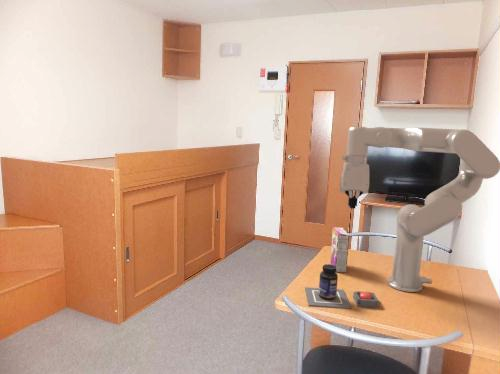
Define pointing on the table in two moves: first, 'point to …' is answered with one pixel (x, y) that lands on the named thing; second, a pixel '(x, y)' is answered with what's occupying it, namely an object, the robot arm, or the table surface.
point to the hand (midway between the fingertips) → (352, 207)
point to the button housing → (365, 300)
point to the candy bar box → (339, 249)
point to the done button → (365, 295)
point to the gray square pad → (316, 300)
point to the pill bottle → (328, 282)
